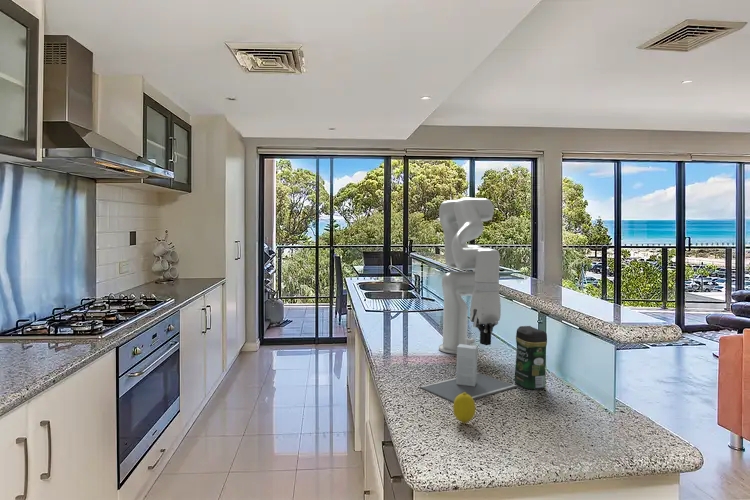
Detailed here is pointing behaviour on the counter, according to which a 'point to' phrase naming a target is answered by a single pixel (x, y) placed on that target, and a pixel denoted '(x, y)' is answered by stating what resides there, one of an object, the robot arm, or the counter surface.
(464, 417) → the lemon
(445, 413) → the counter surface
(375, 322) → the counter surface
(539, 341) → the coffee jar
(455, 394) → the mat
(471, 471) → the counter surface
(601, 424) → the counter surface
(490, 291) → the robot arm
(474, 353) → the skincare box
